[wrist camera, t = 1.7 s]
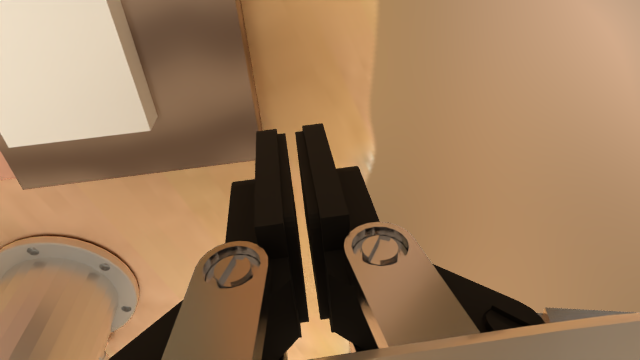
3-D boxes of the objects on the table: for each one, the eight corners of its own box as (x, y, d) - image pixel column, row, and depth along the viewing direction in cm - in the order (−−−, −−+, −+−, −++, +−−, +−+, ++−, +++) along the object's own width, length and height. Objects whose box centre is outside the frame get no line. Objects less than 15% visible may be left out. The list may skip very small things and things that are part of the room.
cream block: (157, 116, 25) (150, 130, 24) (25, 132, 25) (8, 147, 23) (112, -26, 21) (99, -21, 19) (-50, -10, 21) (-78, -3, 19)
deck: (262, 133, 31) (263, 159, 28) (48, 159, 30) (23, 189, 27) (218, -126, 22) (211, -133, 19) (-86, -101, 22) (-149, -103, 18)
